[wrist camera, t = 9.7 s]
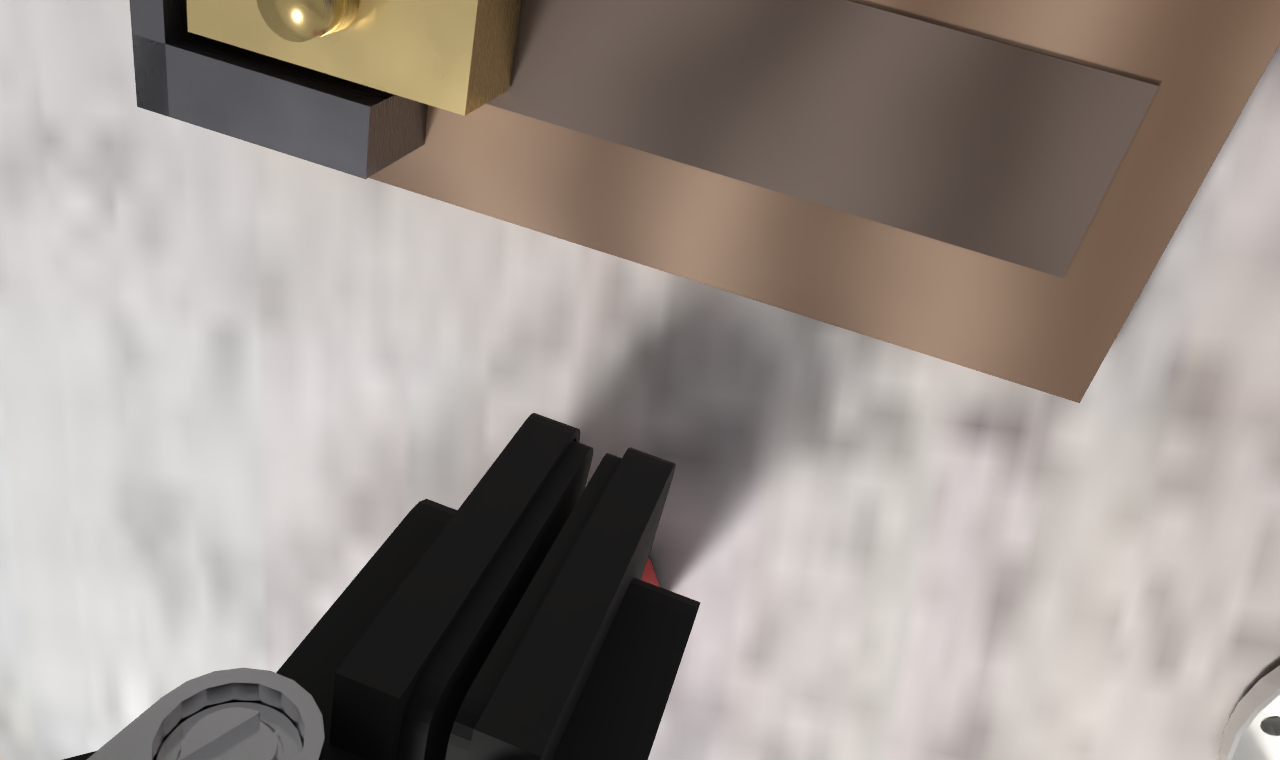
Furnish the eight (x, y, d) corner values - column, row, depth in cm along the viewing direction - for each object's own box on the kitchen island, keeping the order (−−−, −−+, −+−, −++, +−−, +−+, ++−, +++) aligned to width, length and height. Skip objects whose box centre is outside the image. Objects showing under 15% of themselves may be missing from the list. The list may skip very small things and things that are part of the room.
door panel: (1305, -50, 22) (1329, -43, 21) (1073, 378, 28) (1079, 404, 27) (225, -325, 25) (186, -334, 24) (233, 114, 32) (202, 126, 30)
